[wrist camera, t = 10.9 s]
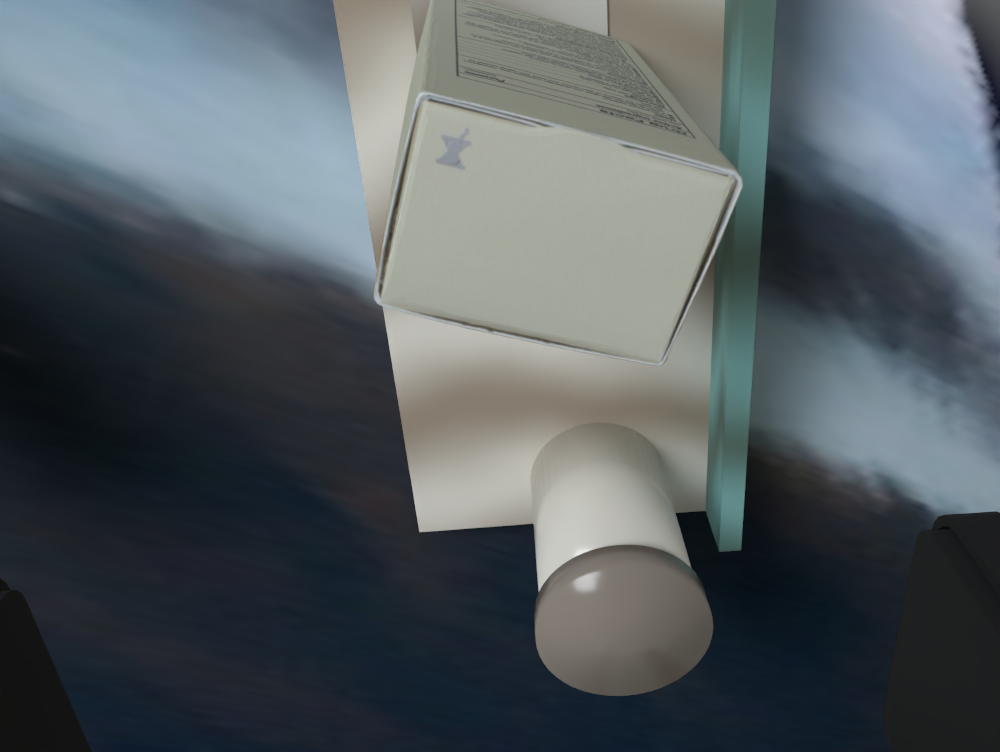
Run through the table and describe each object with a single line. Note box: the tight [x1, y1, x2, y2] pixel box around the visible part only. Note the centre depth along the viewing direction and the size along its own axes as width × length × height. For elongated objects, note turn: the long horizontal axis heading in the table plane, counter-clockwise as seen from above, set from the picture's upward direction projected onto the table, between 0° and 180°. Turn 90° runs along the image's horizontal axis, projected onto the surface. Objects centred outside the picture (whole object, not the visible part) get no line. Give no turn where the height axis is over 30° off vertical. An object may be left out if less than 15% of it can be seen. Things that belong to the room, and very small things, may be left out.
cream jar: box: [530, 422, 713, 696], centre depth 31 cm, size 5×5×8 cm
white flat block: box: [333, 0, 777, 552], centre depth 30 cm, size 22×12×4 cm, turn 5°
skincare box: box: [374, 0, 743, 366], centre depth 22 cm, size 6×4×12 cm
